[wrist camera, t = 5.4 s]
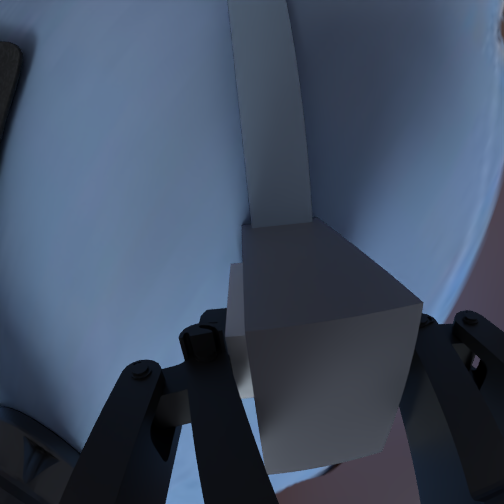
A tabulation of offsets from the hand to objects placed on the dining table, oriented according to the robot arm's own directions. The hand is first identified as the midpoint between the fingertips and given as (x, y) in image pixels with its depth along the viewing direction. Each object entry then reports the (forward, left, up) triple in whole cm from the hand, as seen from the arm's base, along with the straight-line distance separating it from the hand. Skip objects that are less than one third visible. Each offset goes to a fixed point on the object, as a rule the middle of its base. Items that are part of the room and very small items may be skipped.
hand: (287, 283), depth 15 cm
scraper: (+11, 0, -1) cm, 11 cm away
